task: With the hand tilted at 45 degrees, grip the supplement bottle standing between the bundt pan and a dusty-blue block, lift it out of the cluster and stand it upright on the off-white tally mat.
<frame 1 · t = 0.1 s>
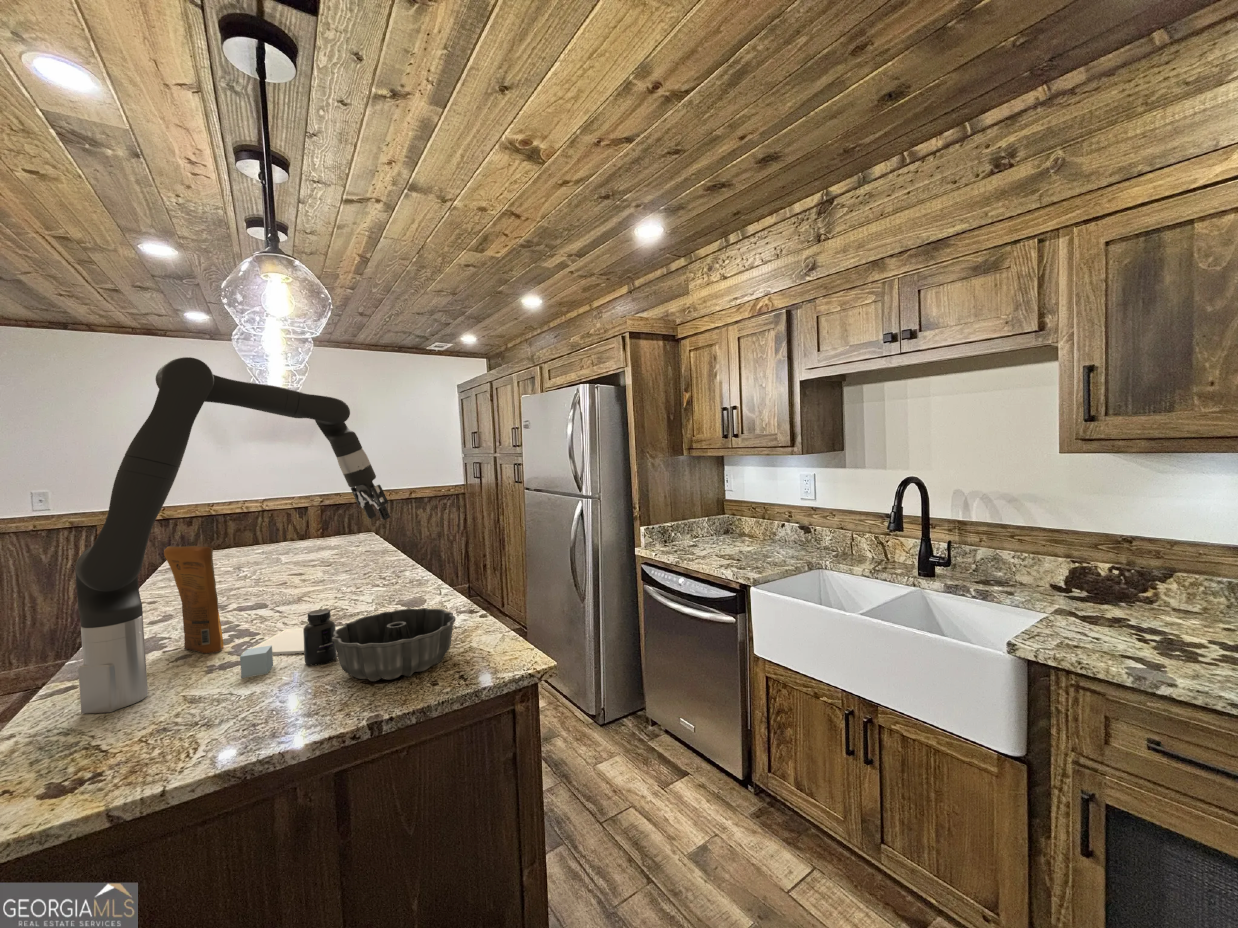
hand: (379, 518, 150), 31 cm above the counter, tool tilted 20°, fingers open, 8 cm apart
supplement bottle: (321, 661, 125), on the counter
bundt pan: (398, 666, 121), on the counter
tally mat: (299, 641, 139), on the counter
blue block: (257, 671, 120), on the counter
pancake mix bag: (200, 649, 137), on the counter
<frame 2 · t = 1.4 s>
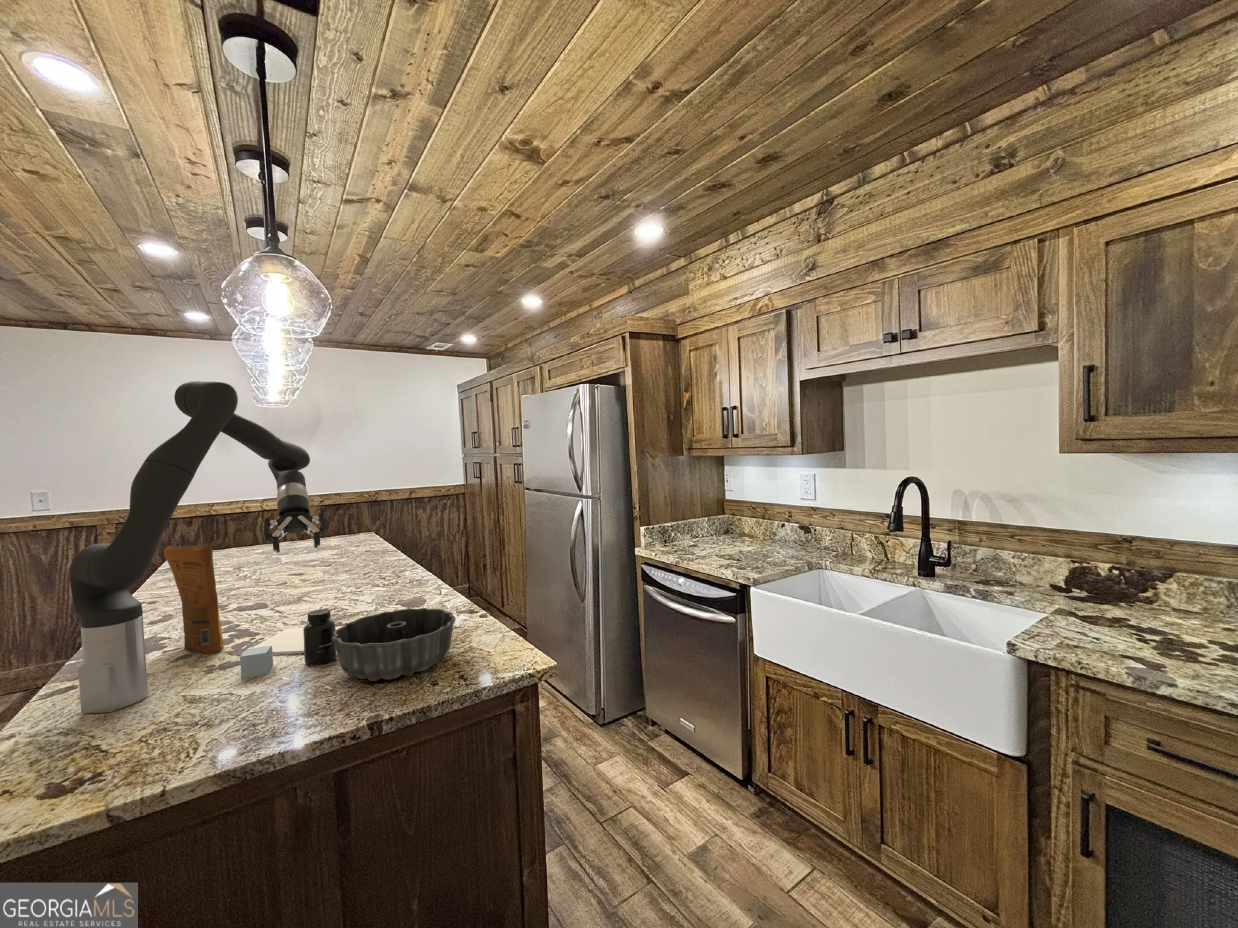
hand: (297, 548, 135), 26 cm above the counter, tool tilted 45°, fingers open, 8 cm apart
nothing on the counter moved.
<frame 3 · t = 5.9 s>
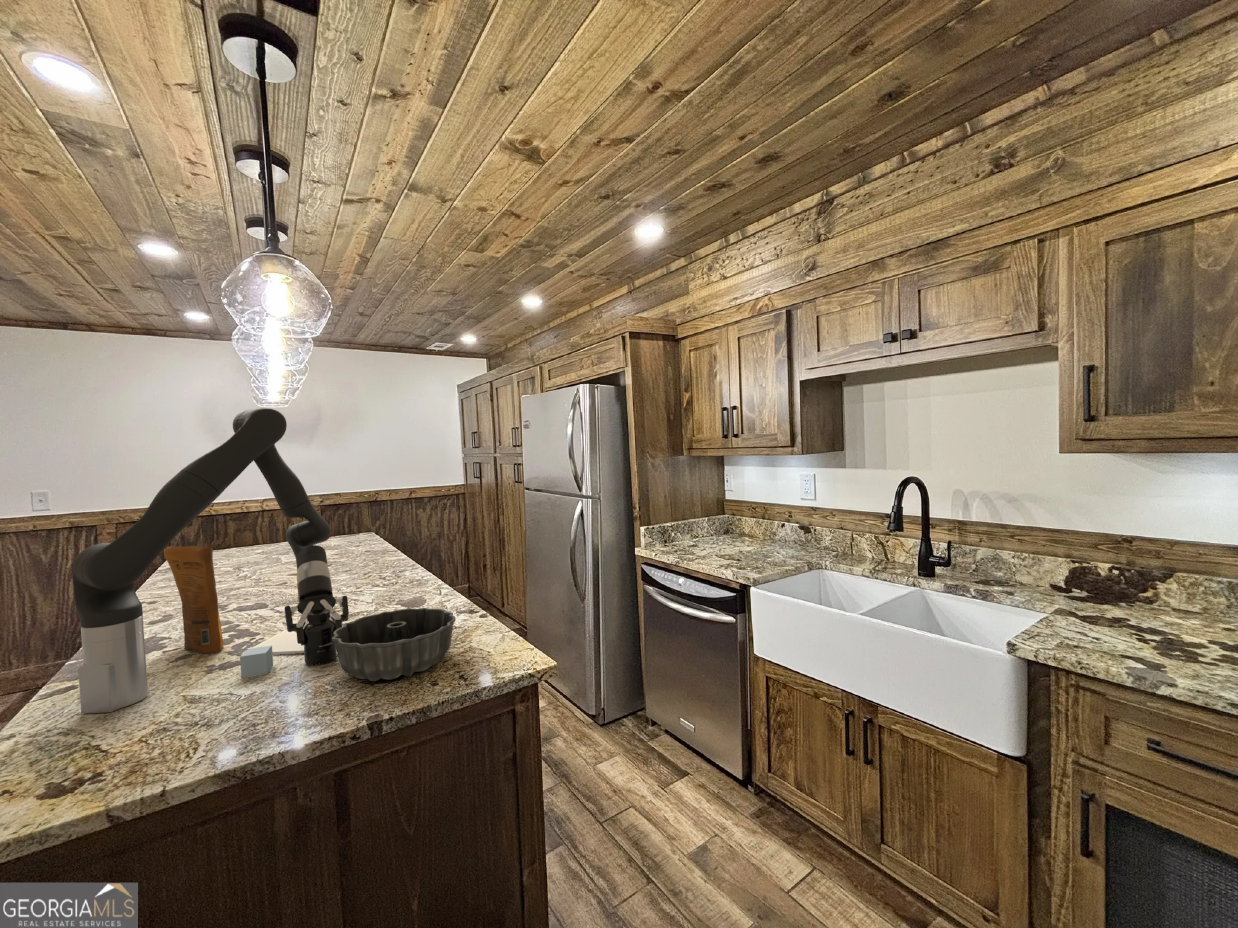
hand: (320, 639, 124), 5 cm above the counter, tool tilted 45°, fingers closed on supplement bottle, 7 cm apart
supplement bottle: (321, 661, 125), on the counter, touching gripper
everything else where it was.
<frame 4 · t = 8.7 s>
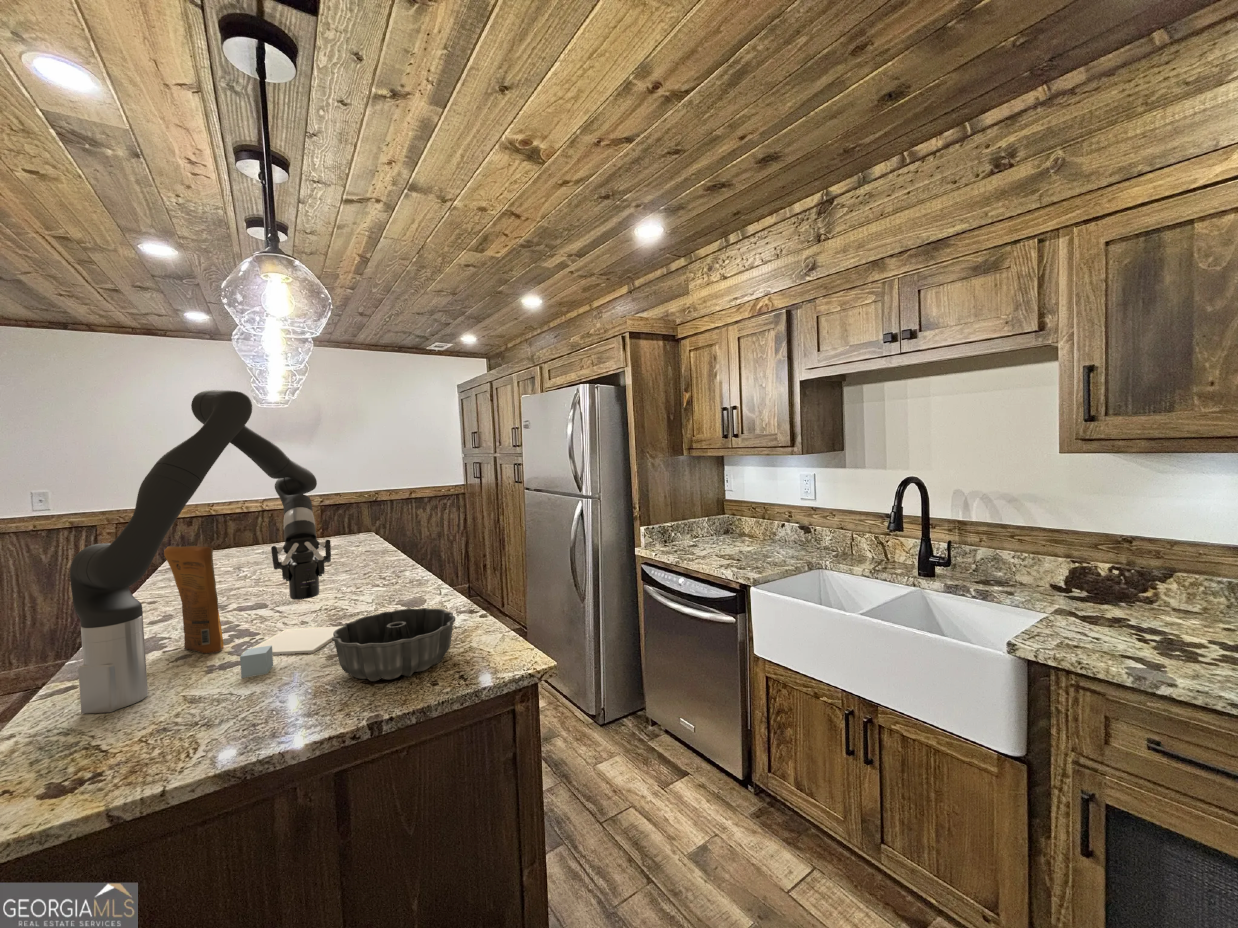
hand: (304, 577, 134), 19 cm above the counter, tool tilted 45°, fingers closed on supplement bottle, 7 cm apart
supplement bottle: (305, 597, 136), point 13 cm above the counter, touching gripper
everything else where it was.
when the fingers open (8 cm above the counter, at t = 11.5 s): supplement bottle drops 1 cm, resting on tally mat.
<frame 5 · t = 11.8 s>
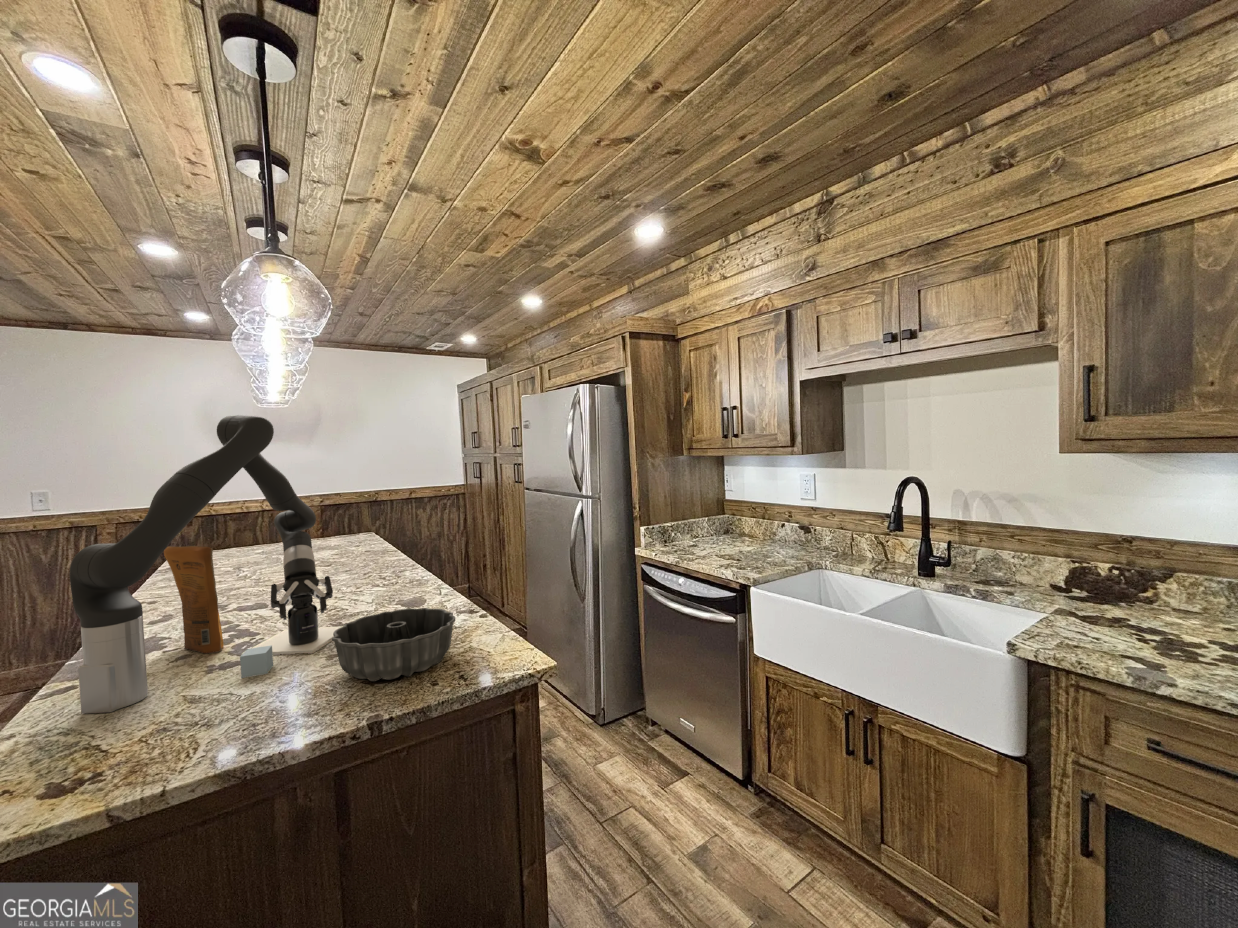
hand: (304, 614, 136), 8 cm above the counter, tool tilted 45°, fingers open, 8 cm apart
supplement bottle: (304, 641, 137), point 1 cm above the counter, touching tally mat
everything else where it was.
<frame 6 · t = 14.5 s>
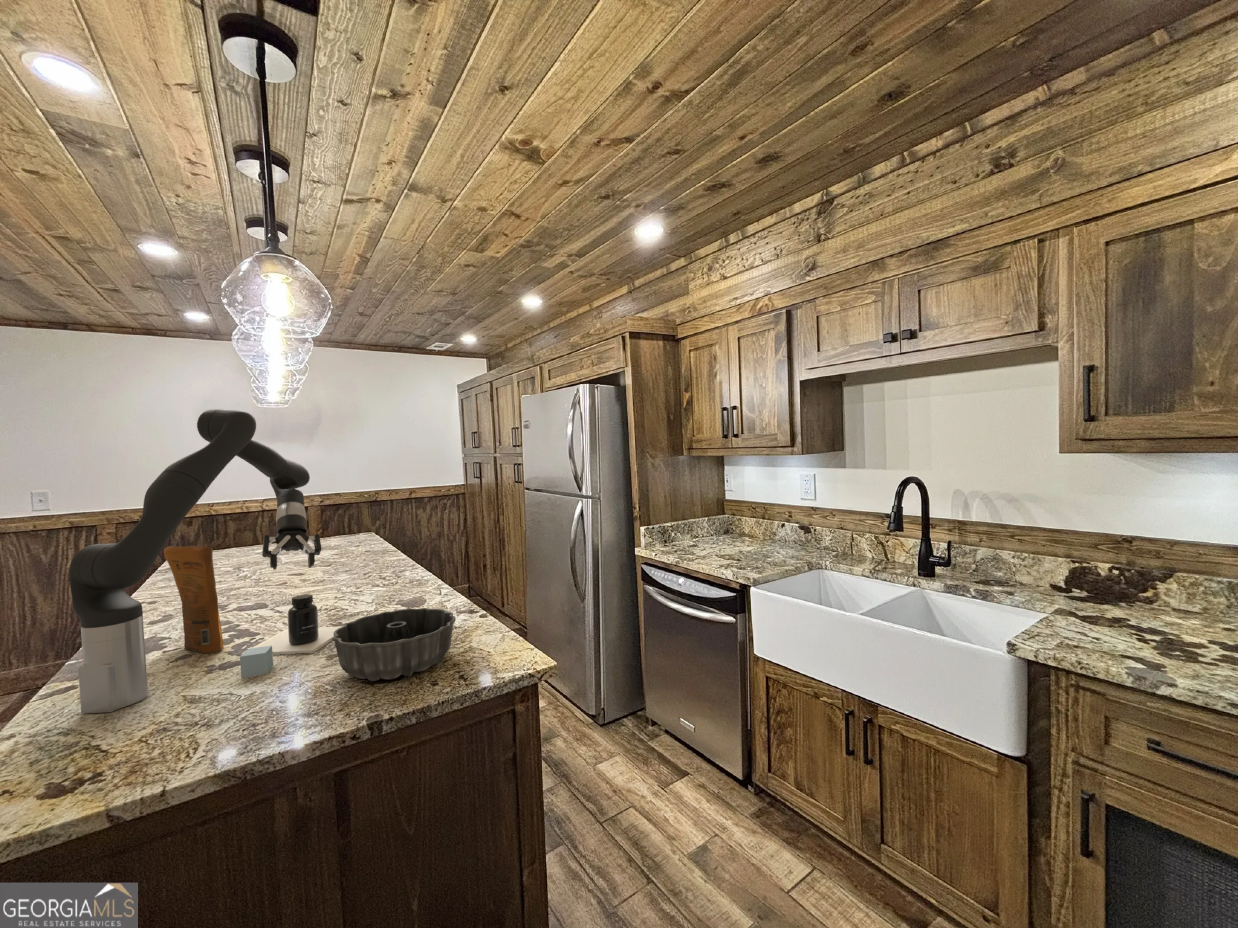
hand: (293, 567, 145), 19 cm above the counter, tool tilted 40°, fingers open, 8 cm apart
nothing on the counter moved.
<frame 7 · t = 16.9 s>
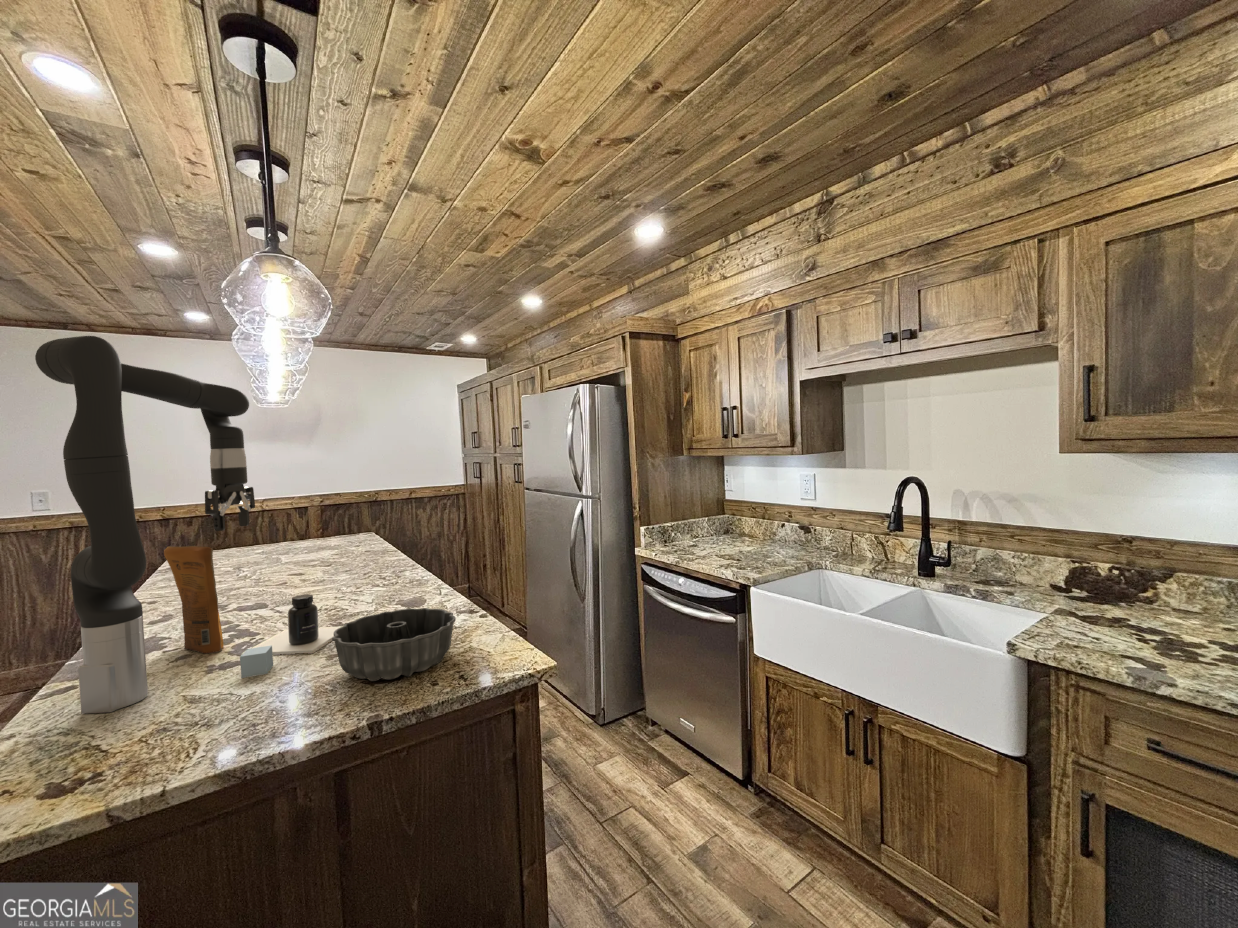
hand: (232, 528, 134), 32 cm above the counter, tool pointing down, fingers open, 8 cm apart
nothing on the counter moved.
at the end: supplement bottle inside the target area on the tally mat (3.4 cm from its centre), point 0.6 cm above the tally mat's base; supplement bottle tilted 0°; the gripper is holding nothing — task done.
